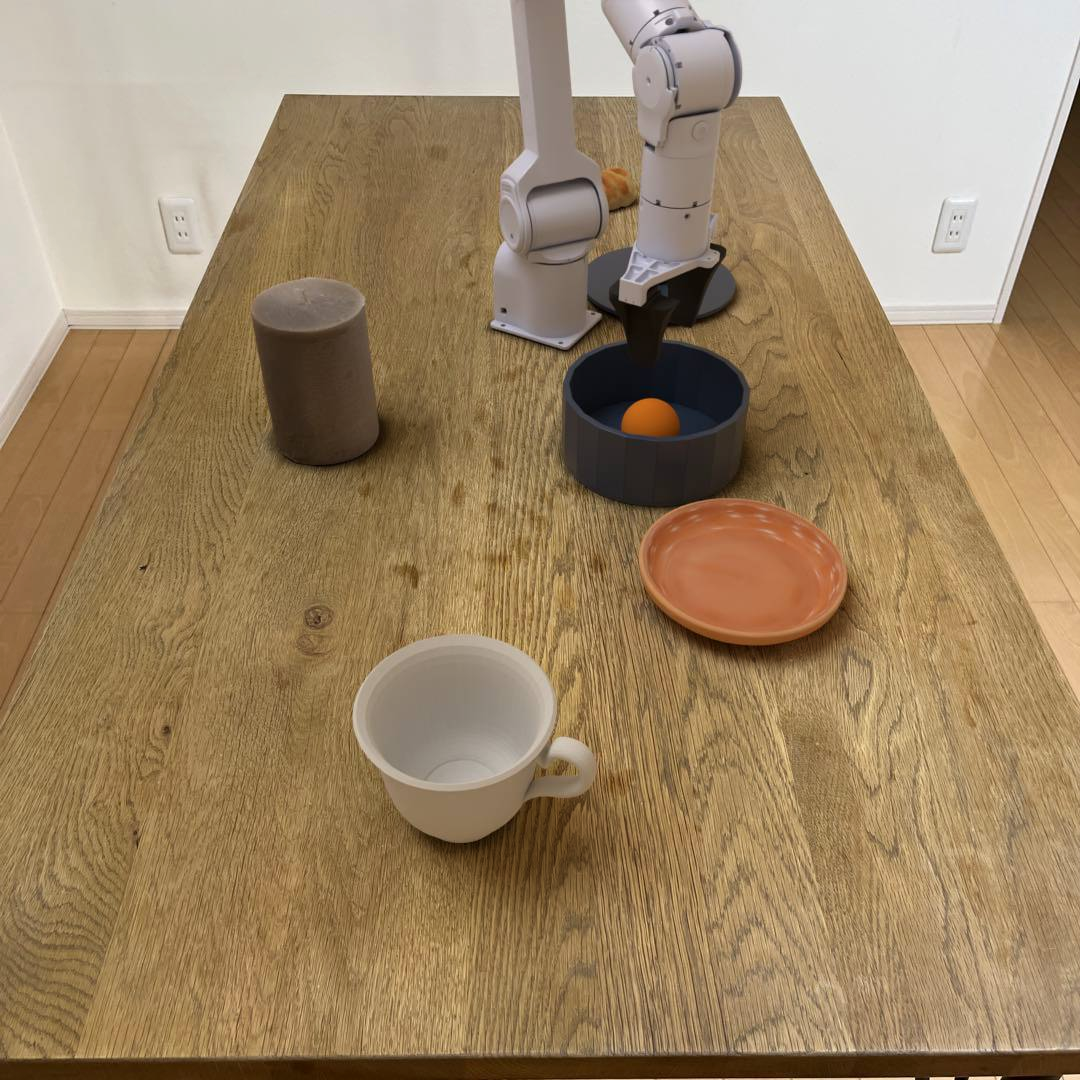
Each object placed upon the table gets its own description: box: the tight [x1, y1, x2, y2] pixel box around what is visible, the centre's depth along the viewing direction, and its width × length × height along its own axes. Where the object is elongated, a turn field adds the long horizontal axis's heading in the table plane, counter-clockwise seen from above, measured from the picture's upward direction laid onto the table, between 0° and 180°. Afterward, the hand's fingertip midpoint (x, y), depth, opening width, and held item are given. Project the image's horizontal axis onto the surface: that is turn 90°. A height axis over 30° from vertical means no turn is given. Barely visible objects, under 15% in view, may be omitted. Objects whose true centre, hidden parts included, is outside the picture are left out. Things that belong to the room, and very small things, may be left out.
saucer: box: [638, 497, 848, 646], centre depth 86 cm, size 16×16×3 cm
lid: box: [587, 246, 737, 324], centre depth 123 cm, size 17×17×6 cm
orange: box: [621, 398, 680, 437], centre depth 99 cm, size 5×5×5 cm
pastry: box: [600, 165, 638, 211], centre depth 140 cm, size 9×7×4 cm
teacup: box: [351, 633, 598, 844], centre depth 68 cm, size 12×15×10 cm
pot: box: [560, 338, 751, 508], centre depth 99 cm, size 16×16×7 cm
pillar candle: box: [250, 276, 380, 466], centre depth 98 cm, size 10×10×15 cm
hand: (662, 343), depth 97 cm, fingers open, 7 cm apart
